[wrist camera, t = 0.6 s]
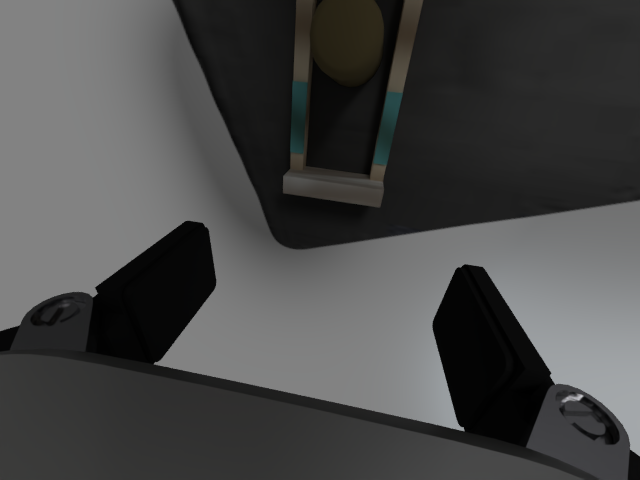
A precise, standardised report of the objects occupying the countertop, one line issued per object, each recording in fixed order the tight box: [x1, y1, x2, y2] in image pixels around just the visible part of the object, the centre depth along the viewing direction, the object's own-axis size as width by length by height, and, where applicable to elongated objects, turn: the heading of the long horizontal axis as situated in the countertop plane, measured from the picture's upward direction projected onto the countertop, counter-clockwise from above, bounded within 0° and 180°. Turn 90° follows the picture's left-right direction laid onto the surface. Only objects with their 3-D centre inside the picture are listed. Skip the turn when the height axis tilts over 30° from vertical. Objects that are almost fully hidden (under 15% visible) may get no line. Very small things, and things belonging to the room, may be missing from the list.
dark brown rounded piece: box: [309, 0, 384, 87], centre depth 22 cm, size 6×6×11 cm
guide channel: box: [283, 0, 423, 207], centre depth 24 cm, size 30×11×5 cm, turn 175°
